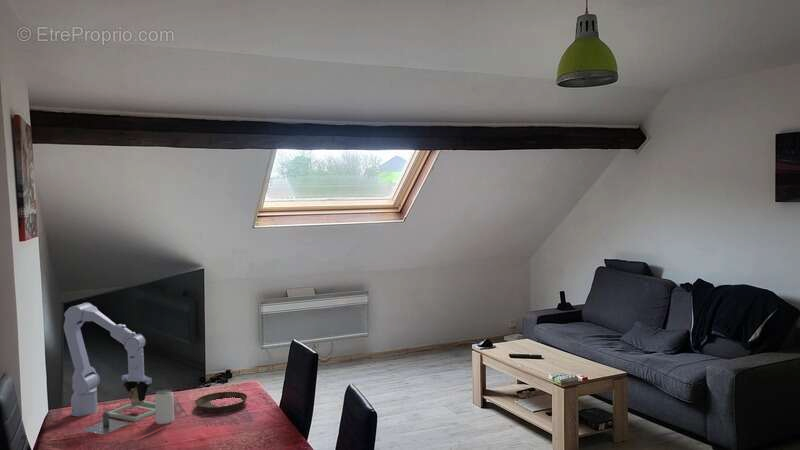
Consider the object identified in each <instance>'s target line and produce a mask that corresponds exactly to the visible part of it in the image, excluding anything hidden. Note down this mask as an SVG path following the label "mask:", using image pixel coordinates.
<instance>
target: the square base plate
mask: <svg viewBox="0 0 800 450" xmlns="http://www.w3.org/2000/svg"><path fill="white" fill-rule="evenodd" d="M108 412H109V411H104V412H103V413H102V414H101V417H102V421H100V422H97V423H95V424H92V425H90V426H87V427H84V428H82V429H80V431H84V432H88V433H94V434H97V435H103V436H104V435H106V434H109V433H111V432H114V431H116V430H118V429H121V428H123V427H125V426H128V425H131V424H132V422H127V421H121V420H118V419H117V420H116V419H112V418H109V417H110V416H109V413H108Z"/></svg>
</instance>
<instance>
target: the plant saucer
mask: <svg viewBox="0 0 800 450" xmlns="http://www.w3.org/2000/svg"><path fill="white" fill-rule="evenodd" d="M230 397H231V398H232V397H233V398H234V397H235V398H241V399H242V400H243V401H242V402H239V403H236V404H232V405H228V406H221V407H218V406H215V404H214V405H212V404H213V403H212V404H211V402H210V401H212V400H216V399H223V398H230ZM247 399H248V395H247V394H246V393H244V392H241V391H221V392H220V391H219V392H213V393H207V394H205V395H202V396H200V397H198V398H196V399H195V400H194V404H195V405H196V407H197V408H198V409H199V410H201V411H202V412H205V413H211V412H218V413H224V411H226V412H230V411H229V410H231V411H233V409H234V410H236V409H235V408H237V409H238V407H239V408H240V407H241V406H242V405H243V404H245V402H246V401H247Z"/></svg>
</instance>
